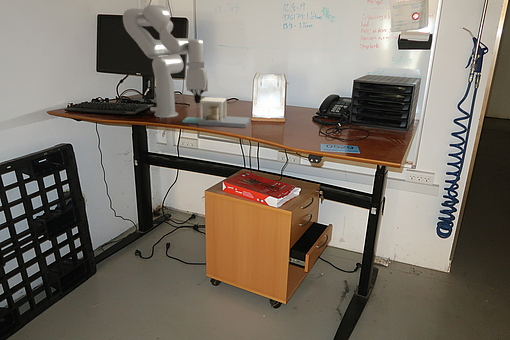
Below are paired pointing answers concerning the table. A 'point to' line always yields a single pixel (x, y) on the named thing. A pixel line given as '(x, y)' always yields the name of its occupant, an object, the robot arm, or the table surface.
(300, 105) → the table surface
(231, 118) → the puzzle board
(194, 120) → the teal mat
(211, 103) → the sliding cover
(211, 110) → the maple block
